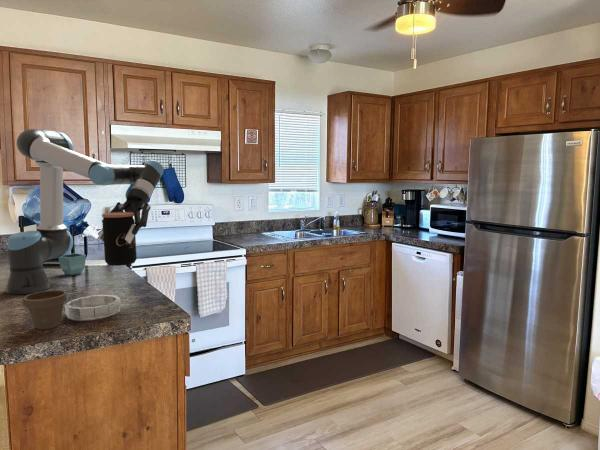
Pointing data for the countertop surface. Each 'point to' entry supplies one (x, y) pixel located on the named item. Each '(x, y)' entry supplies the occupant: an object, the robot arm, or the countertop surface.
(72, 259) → the flower pot
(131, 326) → the countertop surface
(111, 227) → the coffee jar
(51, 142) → the robot arm
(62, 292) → the flower pot
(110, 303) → the cup bracket
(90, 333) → the countertop surface
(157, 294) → the countertop surface
